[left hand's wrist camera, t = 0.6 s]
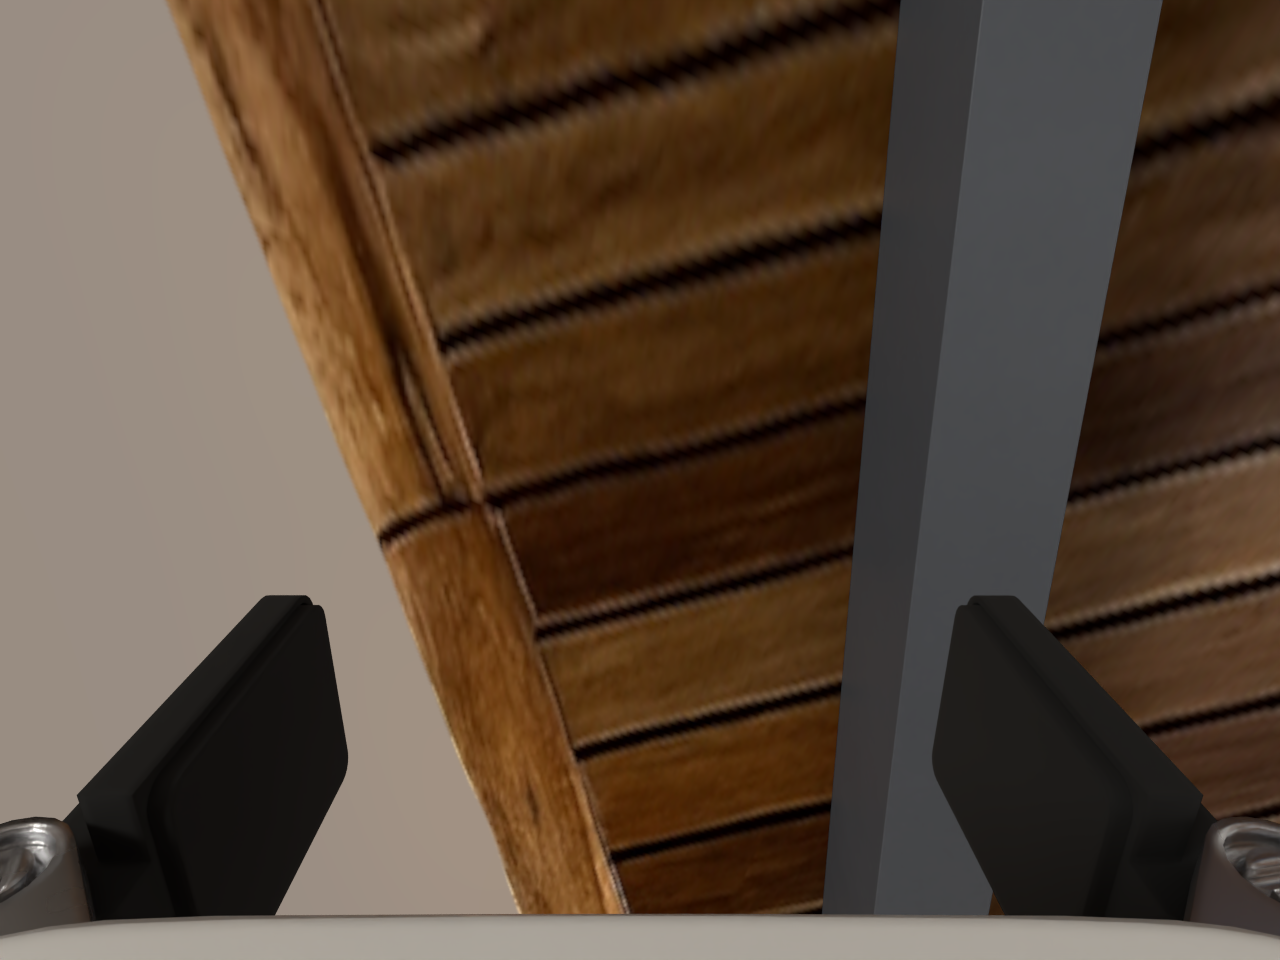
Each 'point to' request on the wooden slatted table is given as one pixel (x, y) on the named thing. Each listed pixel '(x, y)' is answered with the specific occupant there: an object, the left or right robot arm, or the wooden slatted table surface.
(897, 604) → the beam
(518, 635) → the wooden slatted table surface
